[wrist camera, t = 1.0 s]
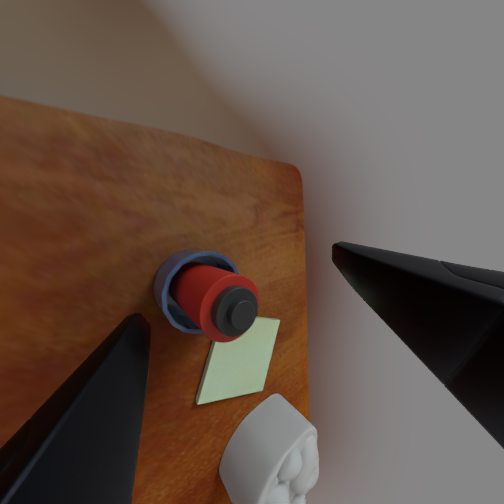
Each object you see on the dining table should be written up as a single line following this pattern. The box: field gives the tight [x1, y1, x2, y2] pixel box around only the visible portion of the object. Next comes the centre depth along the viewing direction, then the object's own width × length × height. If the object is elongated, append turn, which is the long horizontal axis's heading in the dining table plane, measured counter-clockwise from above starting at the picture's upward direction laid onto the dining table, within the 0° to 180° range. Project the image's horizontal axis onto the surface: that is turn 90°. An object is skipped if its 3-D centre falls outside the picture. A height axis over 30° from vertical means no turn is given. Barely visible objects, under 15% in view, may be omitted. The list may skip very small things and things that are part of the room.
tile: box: [195, 317, 280, 405], centre depth 26 cm, size 11×11×1 cm
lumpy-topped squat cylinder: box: [219, 393, 319, 504], centre depth 26 cm, size 10×13×9 cm
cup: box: [153, 249, 239, 334], centre depth 20 cm, size 8×8×4 cm
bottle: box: [169, 262, 259, 343], centre depth 17 cm, size 5×5×10 cm
